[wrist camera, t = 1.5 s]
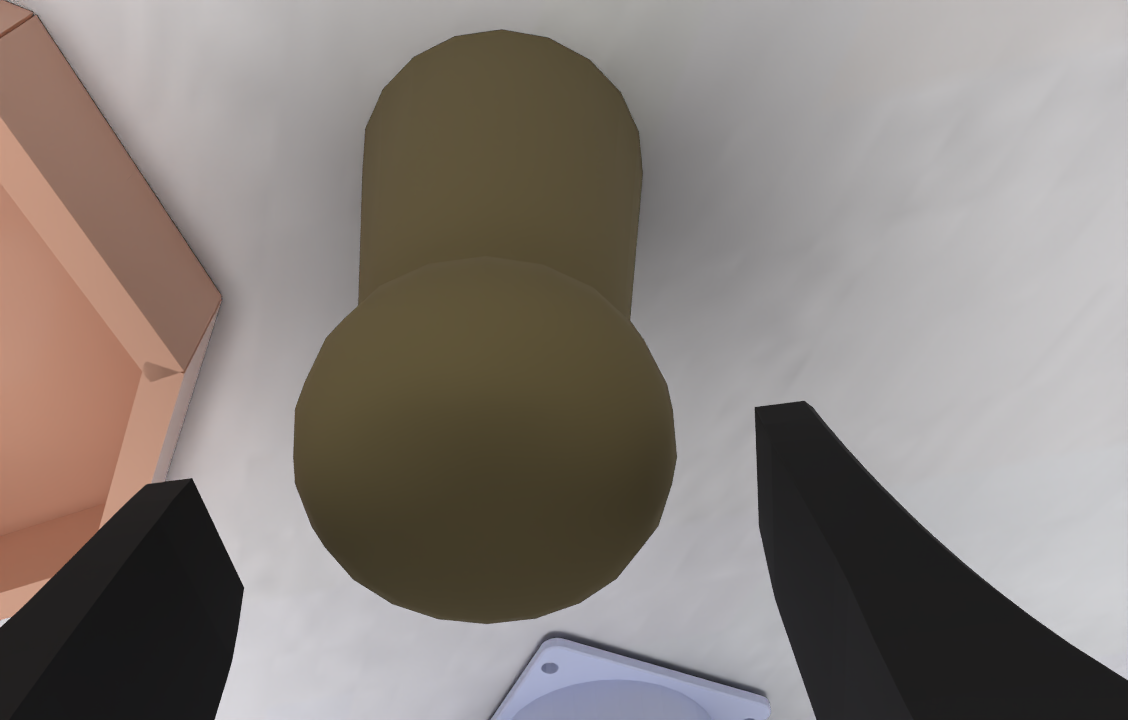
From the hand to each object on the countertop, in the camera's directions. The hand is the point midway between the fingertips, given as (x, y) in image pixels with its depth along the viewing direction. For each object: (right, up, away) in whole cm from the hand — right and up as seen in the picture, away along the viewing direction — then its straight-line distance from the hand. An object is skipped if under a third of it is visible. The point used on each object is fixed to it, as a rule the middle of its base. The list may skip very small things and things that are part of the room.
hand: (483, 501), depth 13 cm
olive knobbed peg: (0, +6, +9) cm, 11 cm away
